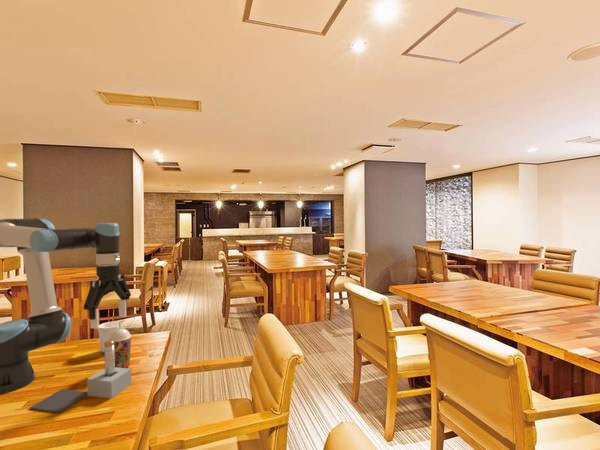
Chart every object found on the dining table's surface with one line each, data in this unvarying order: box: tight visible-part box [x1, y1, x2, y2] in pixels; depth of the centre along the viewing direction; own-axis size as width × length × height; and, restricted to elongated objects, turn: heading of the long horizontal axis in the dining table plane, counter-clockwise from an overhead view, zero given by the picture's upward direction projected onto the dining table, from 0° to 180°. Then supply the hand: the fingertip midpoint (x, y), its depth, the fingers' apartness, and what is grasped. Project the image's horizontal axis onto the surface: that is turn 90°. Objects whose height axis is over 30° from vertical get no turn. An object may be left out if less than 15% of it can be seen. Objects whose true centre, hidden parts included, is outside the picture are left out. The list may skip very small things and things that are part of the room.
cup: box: [97, 320, 123, 355], centre depth 158 cm, size 10×10×13 cm
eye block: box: [86, 367, 132, 399], centre depth 123 cm, size 10×10×6 cm
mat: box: [29, 388, 88, 414], centre depth 115 cm, size 12×12×1 cm
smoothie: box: [109, 321, 132, 369], centre depth 139 cm, size 8×8×20 cm
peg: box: [104, 340, 115, 377], centre depth 122 cm, size 3×3×18 cm
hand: (109, 322), depth 122 cm, fingers open, 13 cm apart
